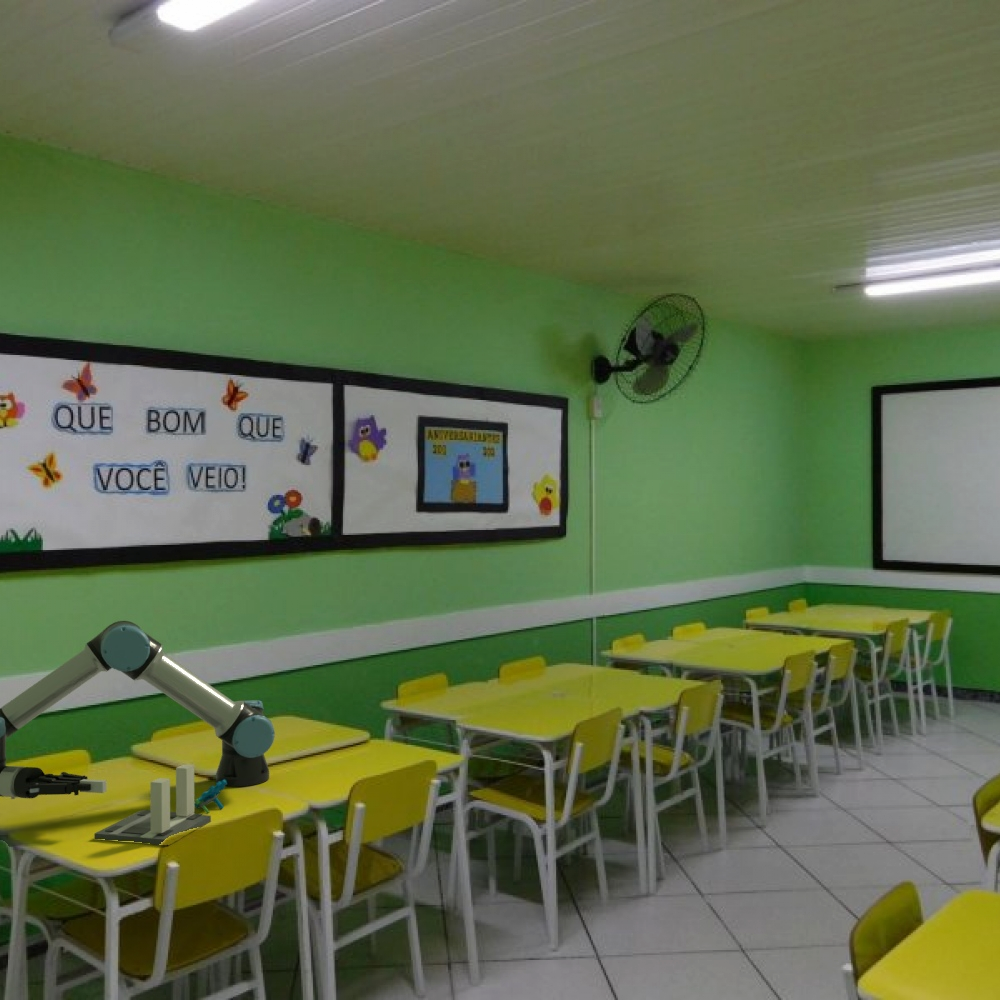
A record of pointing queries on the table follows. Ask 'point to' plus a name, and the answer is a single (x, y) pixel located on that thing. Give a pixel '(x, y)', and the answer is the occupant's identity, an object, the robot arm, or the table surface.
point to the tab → (160, 805)
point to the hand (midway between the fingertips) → (104, 786)
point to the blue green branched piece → (210, 796)
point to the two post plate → (180, 821)
